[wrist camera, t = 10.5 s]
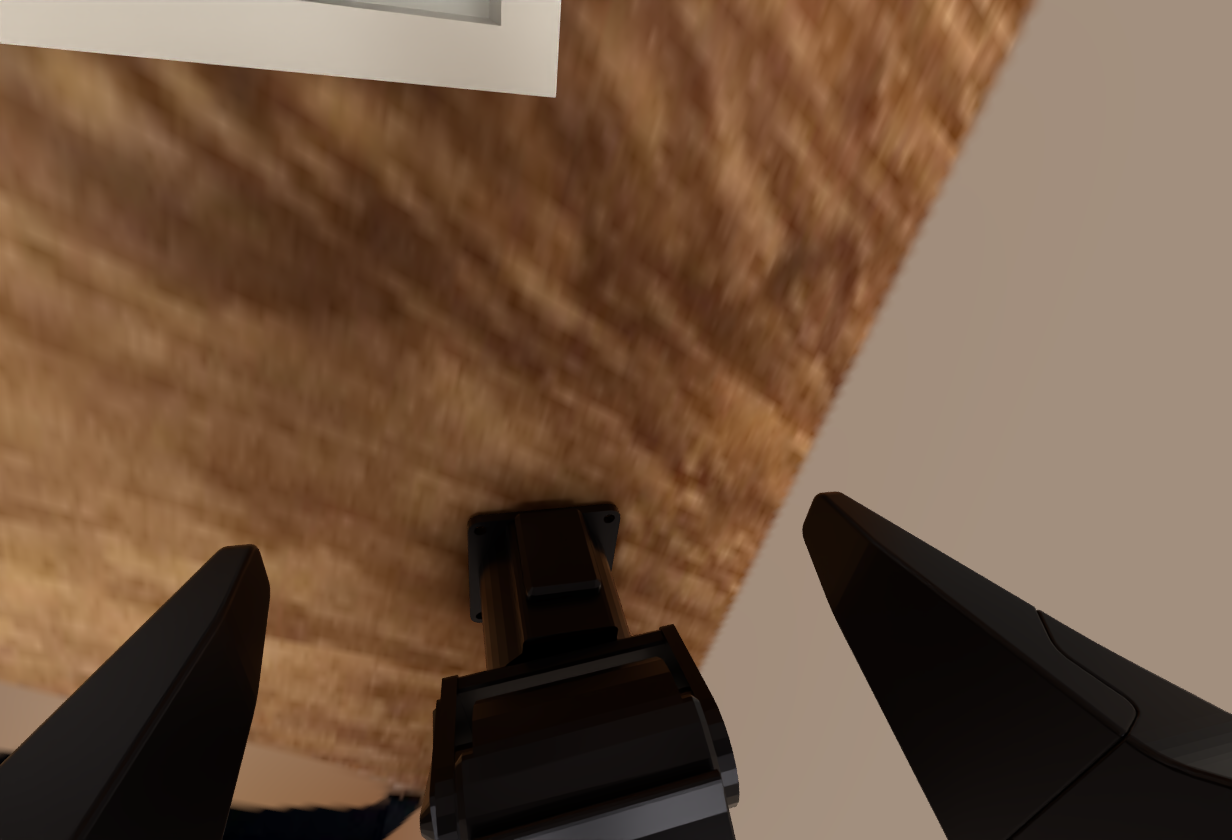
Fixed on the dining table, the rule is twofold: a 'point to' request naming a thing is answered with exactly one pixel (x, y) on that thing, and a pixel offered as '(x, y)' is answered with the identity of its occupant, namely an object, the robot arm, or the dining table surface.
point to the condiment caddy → (315, 36)
